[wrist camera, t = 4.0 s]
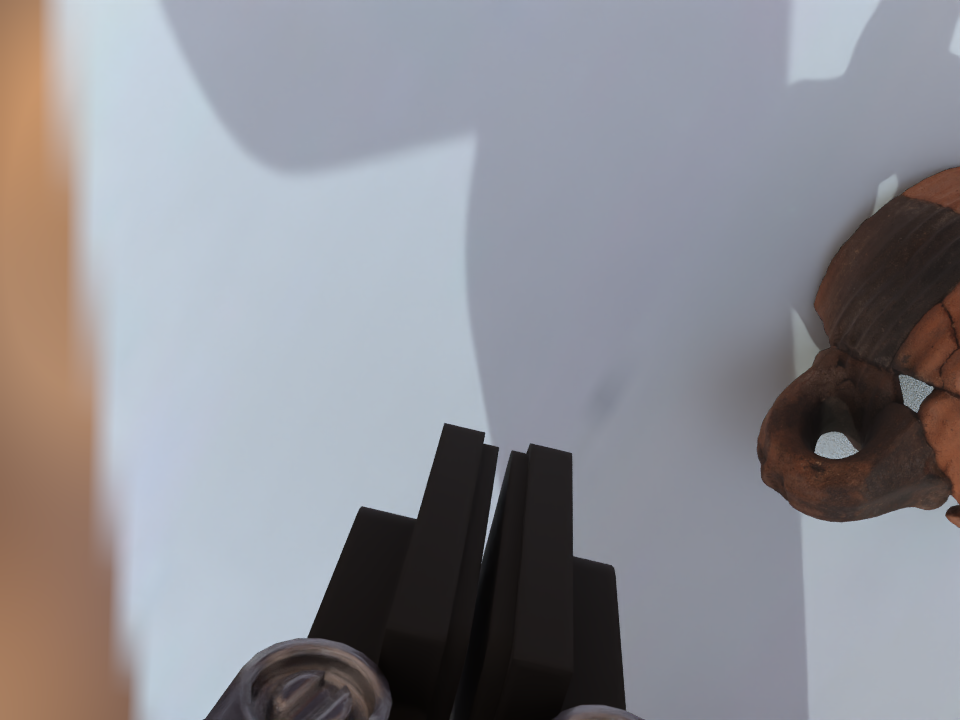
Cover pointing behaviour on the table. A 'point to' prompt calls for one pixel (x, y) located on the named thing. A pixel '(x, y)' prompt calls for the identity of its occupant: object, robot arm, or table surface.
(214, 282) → the table surface
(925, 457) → the brown piece
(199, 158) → the table surface
